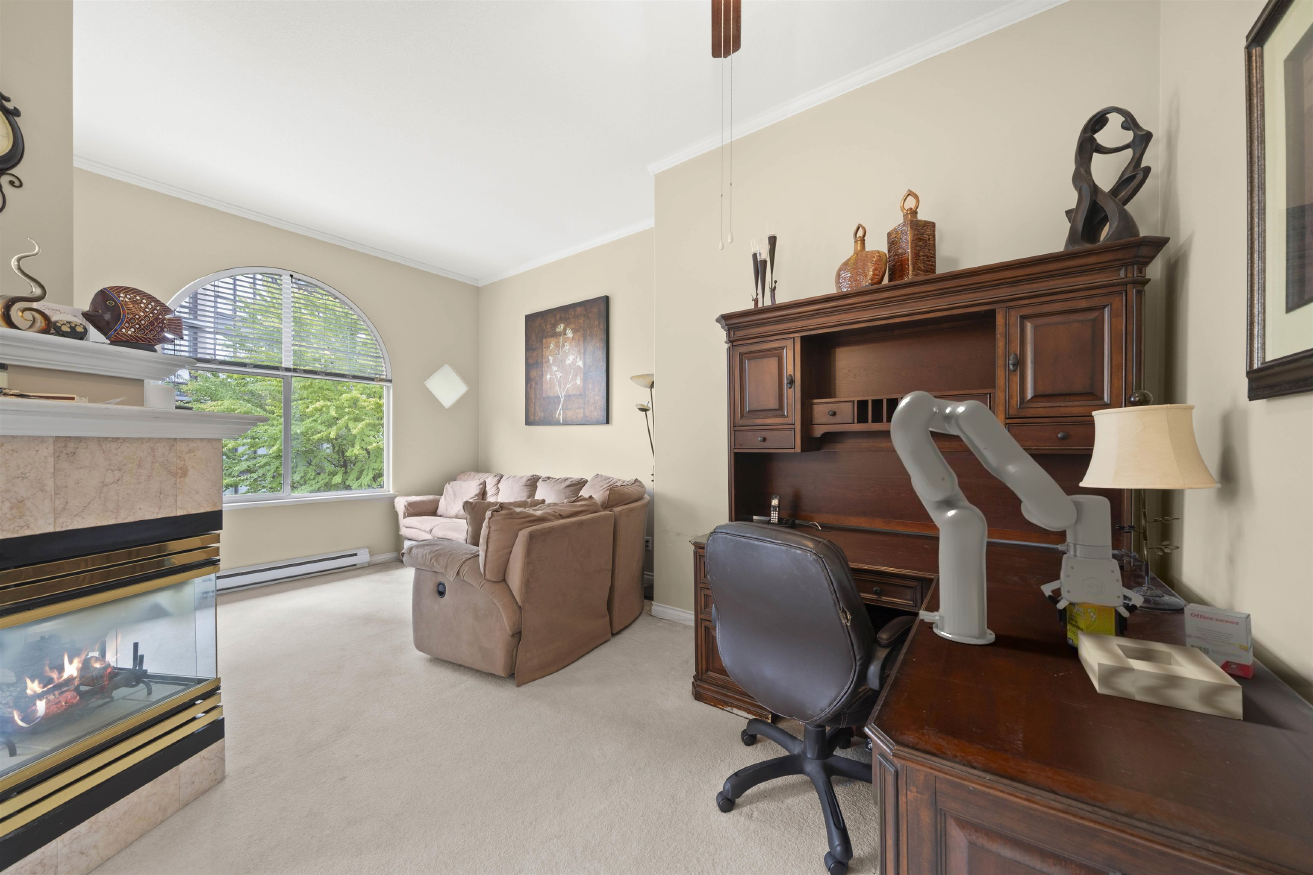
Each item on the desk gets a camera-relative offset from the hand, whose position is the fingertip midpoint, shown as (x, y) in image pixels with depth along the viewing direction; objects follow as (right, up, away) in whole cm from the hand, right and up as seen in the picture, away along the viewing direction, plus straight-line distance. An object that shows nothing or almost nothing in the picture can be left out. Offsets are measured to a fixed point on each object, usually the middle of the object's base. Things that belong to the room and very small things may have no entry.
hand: (1091, 629), depth 110 cm
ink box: (+17, -4, -10) cm, 20 cm away
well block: (-3, -4, -16) cm, 17 cm away
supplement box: (0, -5, 0) cm, 5 cm away
